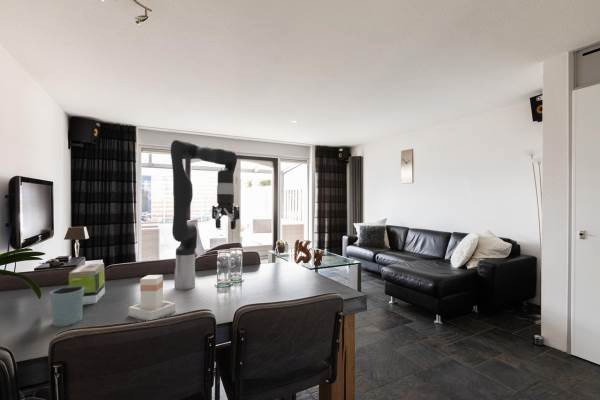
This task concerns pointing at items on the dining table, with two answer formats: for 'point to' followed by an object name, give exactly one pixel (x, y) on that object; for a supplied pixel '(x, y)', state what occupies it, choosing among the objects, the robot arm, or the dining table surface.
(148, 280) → the carton
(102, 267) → the tea box
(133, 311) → the white rectangular dish
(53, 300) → the light blue cup
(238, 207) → the robot arm
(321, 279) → the dining table surface
